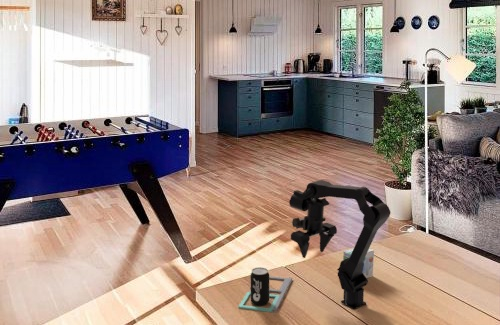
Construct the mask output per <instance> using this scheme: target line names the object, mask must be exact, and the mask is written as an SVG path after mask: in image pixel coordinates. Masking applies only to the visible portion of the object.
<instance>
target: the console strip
mask: <svg viewBox="0 0 500 325" xmlns="http://www.w3.org/2000/svg"><path fill="white" fill-rule="evenodd" d="M287 278H288V280H287V282H286V284H285V286H284V288H283V290H282V292H281V293H279V295H280V296H279V298H278V300H277V302H276V304H275V306H274V308H273V312H272V313H277V311H278V310H279V308H280V306H281V303H282V302H283V300H284V297H285V295H286V294H287V291H288V289H289V287H290V285H291V283H292V281H293V277H287ZM269 293H271V292H270V290H269Z"/></svg>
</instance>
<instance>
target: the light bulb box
mask: <svg viewBox="0 0 500 325" xmlns="http://www.w3.org/2000/svg"><path fill="white" fill-rule="evenodd" d="M353 249H354V247H353V248H351V249H347V250H344V251H343V260H345V259H347V258H349V257H350V256H351V254H352V251H353ZM374 256H375V250H373V249H371V248H369V250H368V252H367V254H366V256H365V258H364V260H363V272H362V273H363V274H364V275H365V277H366V278H367V279H368V278H372V277H373V275H374V258H375V257H374ZM343 260H342V261H343Z"/></svg>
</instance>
